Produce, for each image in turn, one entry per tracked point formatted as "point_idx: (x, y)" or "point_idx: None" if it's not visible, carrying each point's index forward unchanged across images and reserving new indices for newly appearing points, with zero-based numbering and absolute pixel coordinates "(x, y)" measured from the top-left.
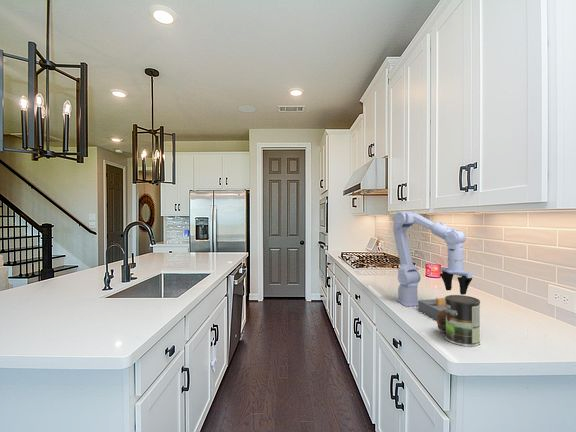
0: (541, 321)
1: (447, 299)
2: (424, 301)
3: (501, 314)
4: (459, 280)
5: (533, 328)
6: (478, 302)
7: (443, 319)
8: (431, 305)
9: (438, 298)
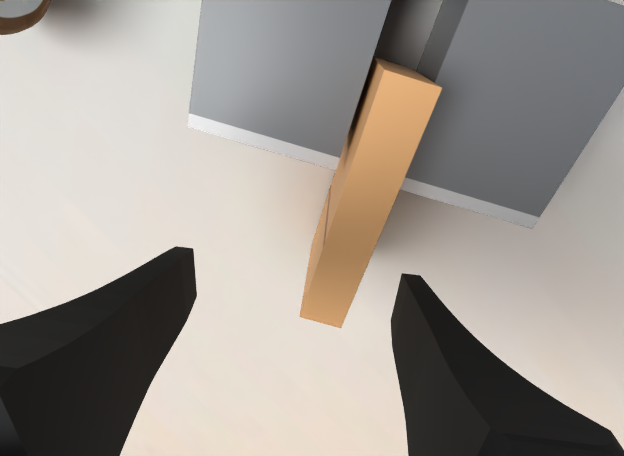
0: None
1: None
2: (572, 40)
3: (238, 394)
4: (22, 343)
5: None
6: None
7: None
8: (451, 29)
9: (412, 104)
